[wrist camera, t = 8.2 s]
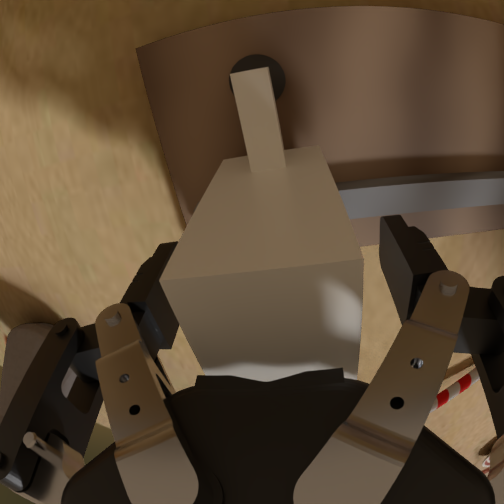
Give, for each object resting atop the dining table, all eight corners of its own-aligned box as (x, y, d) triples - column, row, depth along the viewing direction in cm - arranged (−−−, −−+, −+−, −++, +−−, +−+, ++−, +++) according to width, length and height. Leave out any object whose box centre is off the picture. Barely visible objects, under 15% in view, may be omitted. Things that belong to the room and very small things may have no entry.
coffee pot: (34, 357, 30) (-14, 453, 18) (10, 293, 24) (-66, 408, 12) (195, 417, 32) (171, 535, 20) (213, 367, 26) (179, 535, 13)
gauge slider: (304, 62, 11) (347, 55, 4) (328, 254, 16) (352, 412, 9) (209, 79, 12) (96, 112, 4) (252, 263, 17) (230, 418, 9)
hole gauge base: (567, 50, 8) (646, 74, 2) (558, 210, 14) (616, 269, 8) (148, 49, 13) (54, 51, 6) (205, 250, 19) (170, 347, 13)
